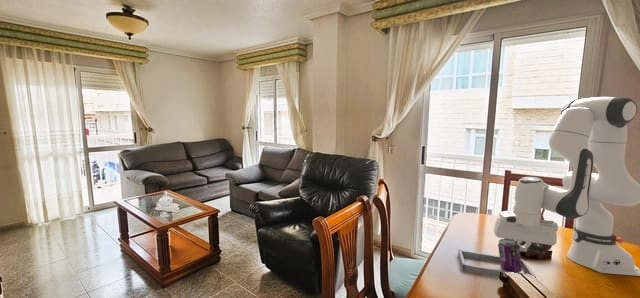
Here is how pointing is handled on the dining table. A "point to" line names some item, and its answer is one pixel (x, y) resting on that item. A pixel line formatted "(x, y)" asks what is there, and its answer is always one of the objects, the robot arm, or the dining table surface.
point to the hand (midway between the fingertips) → (522, 250)
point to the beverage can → (509, 255)
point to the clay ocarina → (536, 249)
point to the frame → (489, 258)
